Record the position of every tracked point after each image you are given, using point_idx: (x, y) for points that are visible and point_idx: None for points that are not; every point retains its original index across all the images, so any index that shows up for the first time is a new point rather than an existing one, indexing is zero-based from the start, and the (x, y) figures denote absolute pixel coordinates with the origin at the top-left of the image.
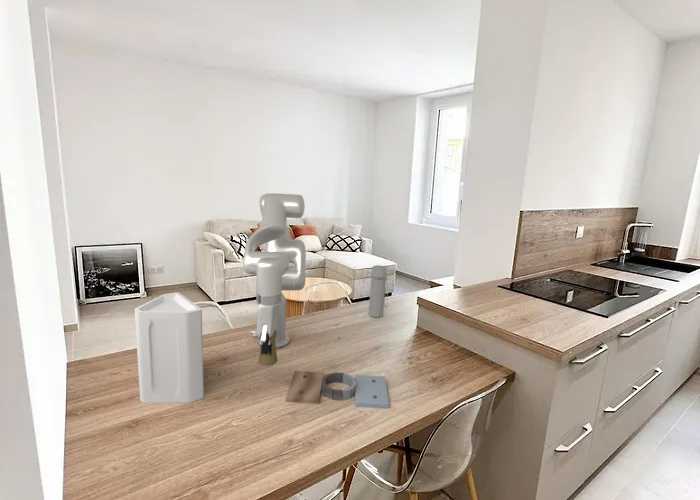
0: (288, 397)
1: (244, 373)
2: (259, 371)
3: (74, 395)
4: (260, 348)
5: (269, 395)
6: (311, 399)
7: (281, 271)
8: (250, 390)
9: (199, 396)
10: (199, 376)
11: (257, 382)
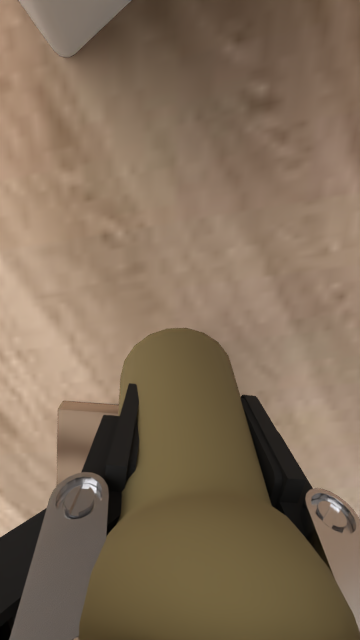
0: (62, 416)
1: (254, 228)
2: (263, 290)
3: None
4: (167, 392)
5: (96, 346)
6: (58, 480)
7: None
8: (126, 273)
9: (38, 26)
10: None
11: (183, 292)
